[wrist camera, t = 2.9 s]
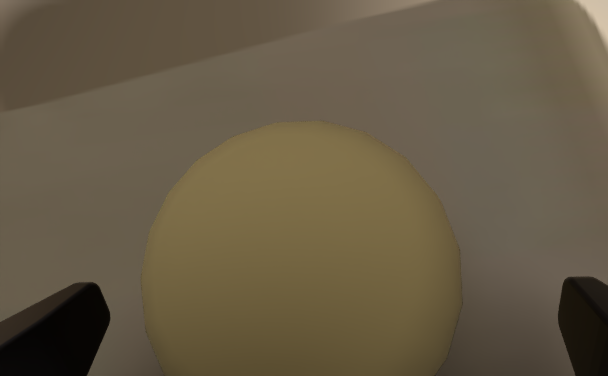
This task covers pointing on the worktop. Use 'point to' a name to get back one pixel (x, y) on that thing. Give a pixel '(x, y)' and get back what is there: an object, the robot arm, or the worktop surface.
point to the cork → (301, 261)
